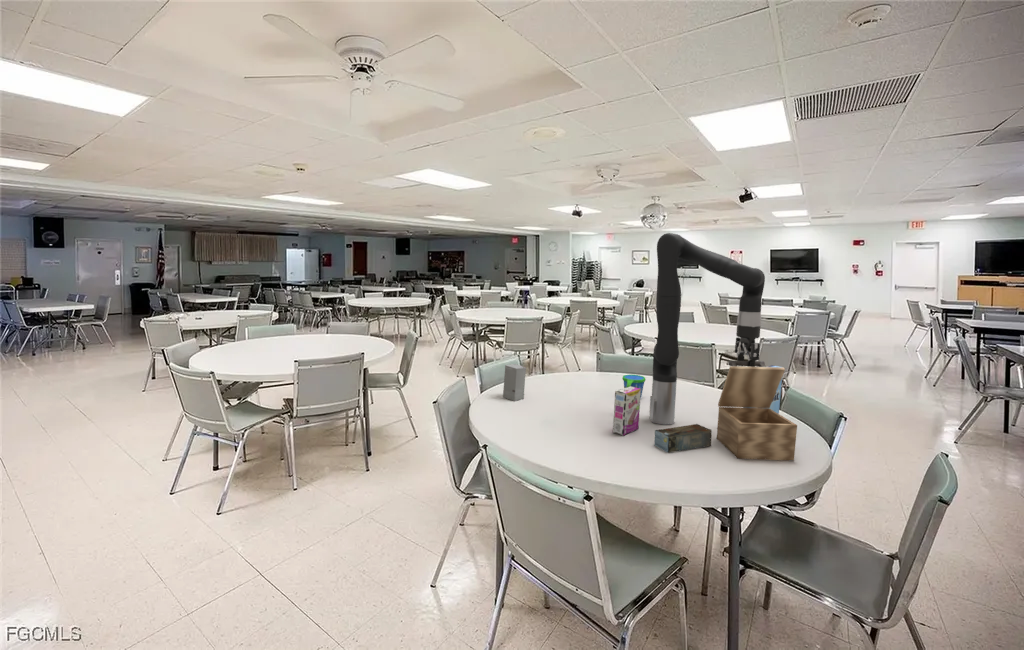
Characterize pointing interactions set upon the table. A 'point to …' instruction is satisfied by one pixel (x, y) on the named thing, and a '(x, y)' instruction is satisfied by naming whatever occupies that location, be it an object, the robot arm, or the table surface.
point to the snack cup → (634, 381)
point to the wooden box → (756, 433)
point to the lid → (750, 385)
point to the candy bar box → (626, 410)
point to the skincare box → (514, 382)
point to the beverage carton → (683, 438)
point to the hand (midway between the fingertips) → (745, 368)
